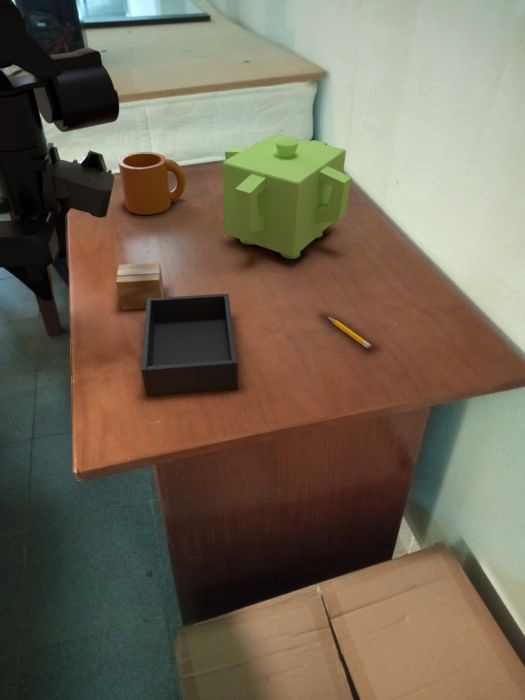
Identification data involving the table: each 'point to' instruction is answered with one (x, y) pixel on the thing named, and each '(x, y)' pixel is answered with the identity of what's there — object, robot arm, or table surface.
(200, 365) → the bin
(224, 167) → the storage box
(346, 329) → the pencil
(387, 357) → the table surface
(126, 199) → the mug
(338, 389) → the table surface
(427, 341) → the table surface
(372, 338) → the table surface
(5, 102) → the robot arm
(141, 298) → the package
